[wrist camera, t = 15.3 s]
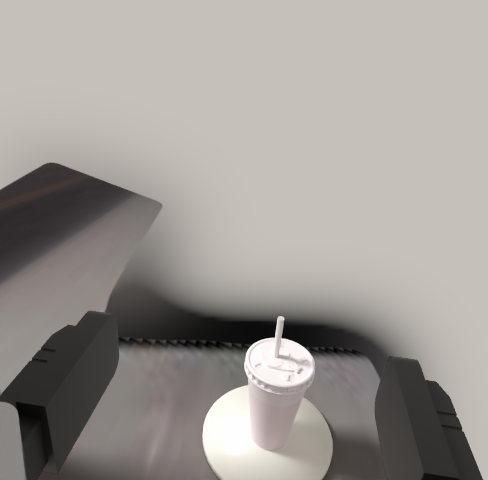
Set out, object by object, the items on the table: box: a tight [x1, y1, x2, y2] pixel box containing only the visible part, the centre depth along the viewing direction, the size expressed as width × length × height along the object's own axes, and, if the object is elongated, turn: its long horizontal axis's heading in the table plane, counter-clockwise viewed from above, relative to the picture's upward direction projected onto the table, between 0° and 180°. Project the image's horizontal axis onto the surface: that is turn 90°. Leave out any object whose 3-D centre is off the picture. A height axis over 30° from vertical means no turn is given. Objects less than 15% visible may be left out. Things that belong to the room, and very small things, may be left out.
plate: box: [202, 385, 333, 480], centre depth 42 cm, size 13×13×1 cm
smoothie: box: [245, 316, 315, 450], centre depth 39 cm, size 6×6×14 cm
